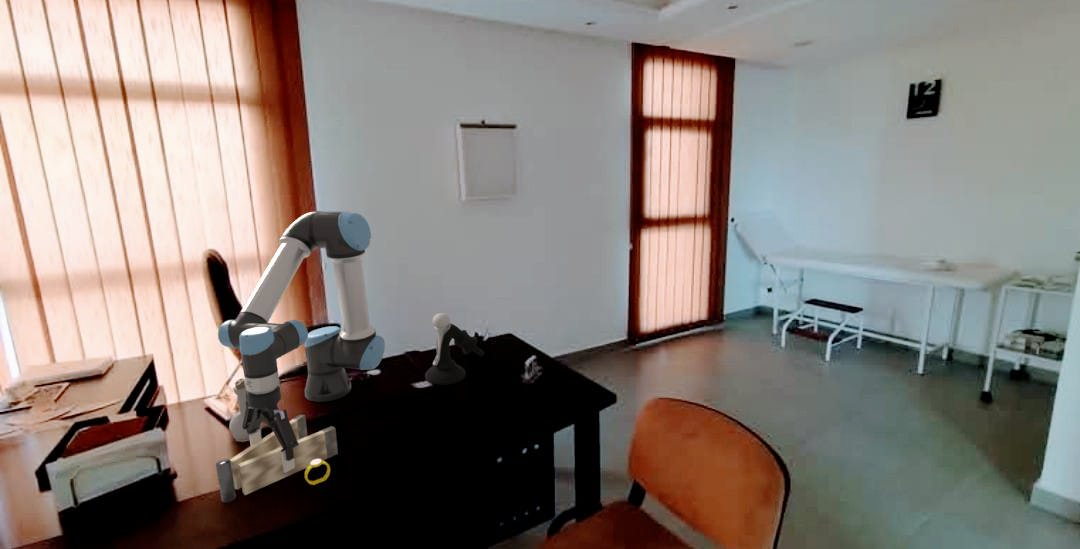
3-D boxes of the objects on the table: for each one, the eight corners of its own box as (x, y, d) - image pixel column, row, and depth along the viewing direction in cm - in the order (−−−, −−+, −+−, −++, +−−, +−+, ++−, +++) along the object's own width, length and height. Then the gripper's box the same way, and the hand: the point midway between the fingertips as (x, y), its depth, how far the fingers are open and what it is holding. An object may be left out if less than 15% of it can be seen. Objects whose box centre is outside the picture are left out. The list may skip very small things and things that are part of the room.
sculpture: (419, 372, 197) (416, 310, 191) (476, 360, 208) (475, 301, 202) (432, 388, 184) (429, 322, 178) (492, 374, 195) (491, 312, 189)
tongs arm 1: (238, 489, 128) (233, 461, 126) (232, 488, 129) (228, 460, 127) (307, 439, 150) (305, 415, 149) (302, 438, 151) (300, 414, 149)
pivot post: (226, 504, 124) (220, 467, 121) (219, 500, 125) (213, 464, 123) (238, 497, 126) (232, 461, 124) (231, 493, 128) (225, 457, 125)
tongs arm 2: (245, 495, 126) (240, 466, 124) (242, 492, 127) (238, 463, 126) (337, 453, 144) (335, 428, 142) (334, 451, 145) (332, 426, 143)
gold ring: (308, 489, 129) (304, 469, 128) (305, 484, 131) (301, 464, 130) (332, 478, 133) (328, 459, 131) (329, 473, 135) (325, 454, 133)
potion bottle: (270, 430, 156) (263, 376, 152) (245, 446, 148) (237, 389, 143) (249, 425, 159) (241, 372, 154) (223, 440, 150) (214, 384, 146)
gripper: (220, 382, 133) (231, 455, 138) (279, 406, 121) (289, 484, 126) (248, 372, 139) (258, 441, 144) (307, 393, 127) (316, 468, 132)
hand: (273, 462), depth 135 cm, fingers open, 13 cm apart
